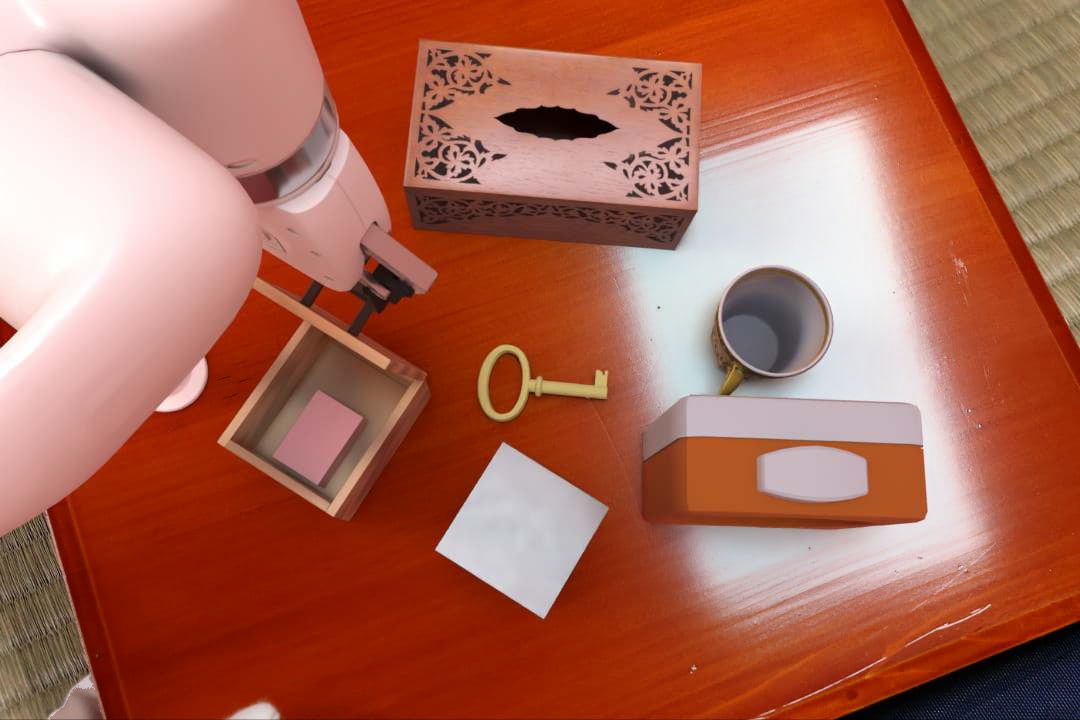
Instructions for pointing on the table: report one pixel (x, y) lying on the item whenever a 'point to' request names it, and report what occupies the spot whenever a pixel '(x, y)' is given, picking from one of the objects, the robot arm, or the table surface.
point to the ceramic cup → (770, 326)
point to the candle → (187, 389)
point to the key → (532, 385)
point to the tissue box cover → (553, 145)
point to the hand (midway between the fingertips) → (324, 251)
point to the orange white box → (784, 463)
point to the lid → (340, 325)
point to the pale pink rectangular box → (320, 439)
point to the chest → (348, 381)
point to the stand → (522, 530)
